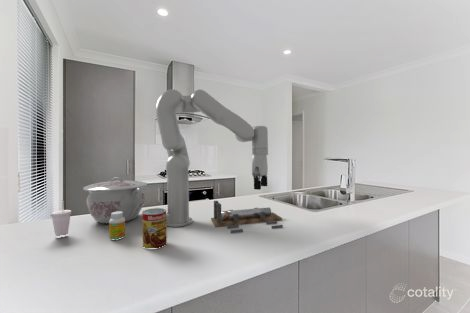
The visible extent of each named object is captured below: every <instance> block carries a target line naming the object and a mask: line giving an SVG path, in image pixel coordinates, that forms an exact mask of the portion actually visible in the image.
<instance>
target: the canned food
mask: <svg viewBox="0 0 470 313" xmlns="http://www.w3.org/2000/svg"><path fill="white" fill-rule="evenodd" d="M141 213H142V214H141V215H142V220H141V221H142V248H143V247H145V248H159V247H162V246H164V245H166V246H167V244H166V243H167V238H168V236H167V226H166V214H167V209H166V208H159V207H158V208H157V207H156V208H149V209H145V210H143V211H142V212H141ZM164 247H165V246H164ZM162 248H163V247H162Z"/></svg>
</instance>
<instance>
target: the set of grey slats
mask: <svg viewBox="0 0 470 313" xmlns="http://www.w3.org/2000/svg"><path fill="white" fill-rule="evenodd" d="M274 224H275V225H274ZM265 225H267V226H268V225H271V229H281V228H283V227H284V225H283V224H278V221H271V222H265ZM238 228H239V229H238ZM226 229H227V230H228V229H230V234H236V233H243V232H244V229H243V228H241V229H240V225H232V226H226Z"/></svg>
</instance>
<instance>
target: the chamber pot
mask: <svg viewBox="0 0 470 313" xmlns="http://www.w3.org/2000/svg"><path fill="white" fill-rule="evenodd" d="M147 185H148V183H147V182H143V181H141V180H140V181H139V180H129V179H127V180H123V179H122V178H121V177H119V176H118V177H117V176H114V177H113V178H111V180H109V181H102V182H96V183H92V184H89V185H86V186H84V187H82V190H83V191H87V192H88V195H87V197H86V206H87V210H88V212H89V214H90V216H91V217H92V218H93V219H94V220H95V221H96V222H97V223H99V224H104V223H106V224H105V225H108V224H107V223H109V220H110V219H111V218H112V217H111V213H113V212H117V211H121V212H123V216H122V217H124V218H125V221H127V222H129V221H132V220H133V219H135V218H137V217H138V216H139V214H140V212H141V211H142V210H143V207H144V204H145V202H146V193H145V191H144V190H143V188H145V187H146V186H147Z"/></svg>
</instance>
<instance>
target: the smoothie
mask: <svg viewBox="0 0 470 313" xmlns="http://www.w3.org/2000/svg"><path fill="white" fill-rule="evenodd" d="M64 202H65V201H64V200H61V209H59V210H55V211H53V212H51V213H50V217H51V220H52V224H53V230H54V236H55V235H56V236H60V235H66V234H68V235H69V230H70V220H71V214H72V210H71V209H64V208H65V207H64V204H65V203H64ZM56 236H55V237H56Z"/></svg>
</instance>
